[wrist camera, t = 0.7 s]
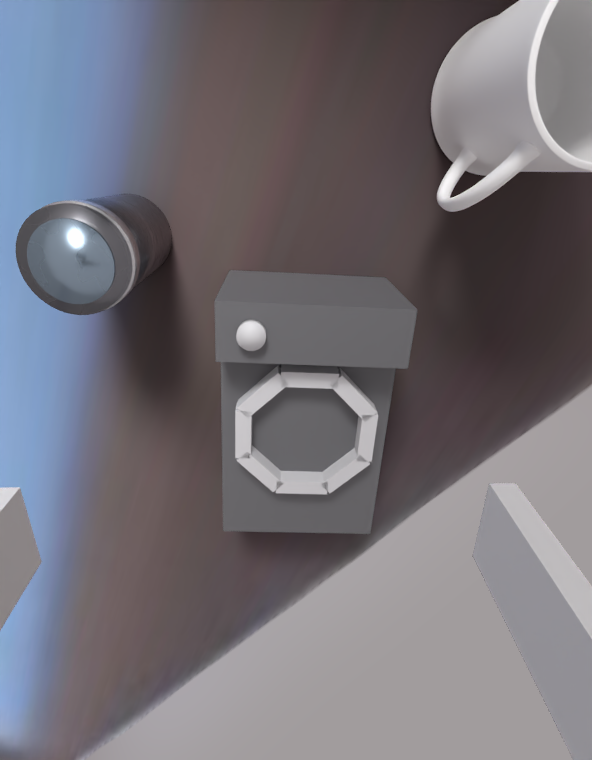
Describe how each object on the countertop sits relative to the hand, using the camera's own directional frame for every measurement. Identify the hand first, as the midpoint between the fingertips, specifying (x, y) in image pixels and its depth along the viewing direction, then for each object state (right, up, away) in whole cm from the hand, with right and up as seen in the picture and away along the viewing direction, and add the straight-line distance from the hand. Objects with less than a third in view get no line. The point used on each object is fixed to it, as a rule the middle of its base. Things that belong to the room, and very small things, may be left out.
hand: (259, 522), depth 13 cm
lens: (-10, +14, +18) cm, 25 cm away
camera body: (+1, +3, +23) cm, 23 cm away
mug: (+12, +20, +16) cm, 29 cm away
